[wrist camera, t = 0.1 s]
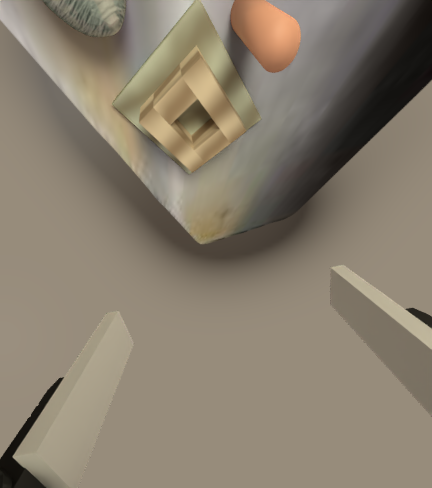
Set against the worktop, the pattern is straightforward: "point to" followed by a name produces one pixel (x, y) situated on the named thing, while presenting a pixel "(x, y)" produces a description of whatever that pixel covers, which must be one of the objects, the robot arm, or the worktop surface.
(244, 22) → the peg
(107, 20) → the green striped ellipsoid
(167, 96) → the socket
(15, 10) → the worktop surface
